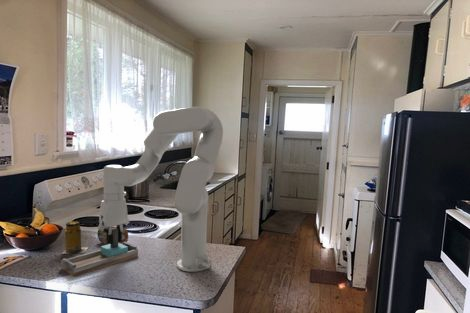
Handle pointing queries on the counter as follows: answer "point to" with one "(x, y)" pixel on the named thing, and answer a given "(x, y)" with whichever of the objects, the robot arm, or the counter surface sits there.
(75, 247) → the condiment
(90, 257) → the rail board
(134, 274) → the counter surface
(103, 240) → the orange brown rounded block
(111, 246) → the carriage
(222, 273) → the counter surface
